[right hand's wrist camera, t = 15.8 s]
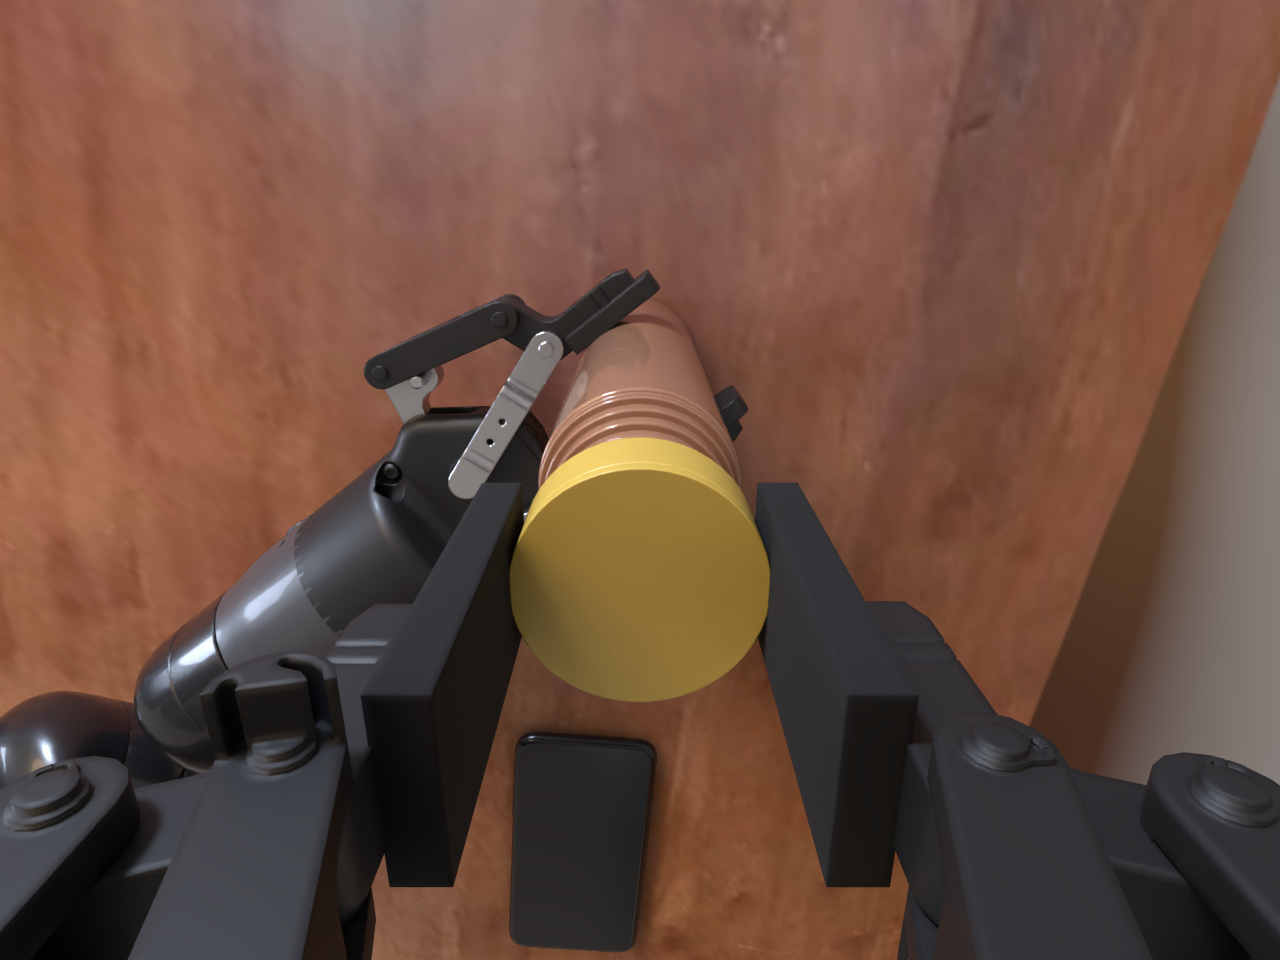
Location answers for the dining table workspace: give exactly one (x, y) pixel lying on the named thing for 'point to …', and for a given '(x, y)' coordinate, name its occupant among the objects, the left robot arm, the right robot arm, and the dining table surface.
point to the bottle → (641, 393)
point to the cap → (639, 571)
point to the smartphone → (579, 840)
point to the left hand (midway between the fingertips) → (696, 340)
